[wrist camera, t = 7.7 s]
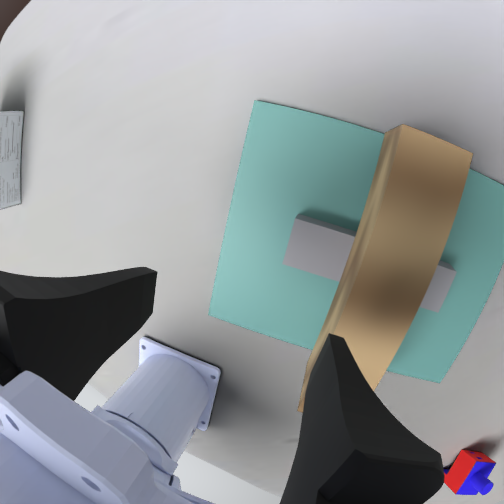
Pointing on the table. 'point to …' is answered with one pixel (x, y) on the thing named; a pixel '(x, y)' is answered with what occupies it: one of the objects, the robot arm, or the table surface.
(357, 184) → the board
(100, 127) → the table surface
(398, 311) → the bronze bar
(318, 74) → the table surface
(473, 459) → the red blue dreidel
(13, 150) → the light bulb box
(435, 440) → the table surface
